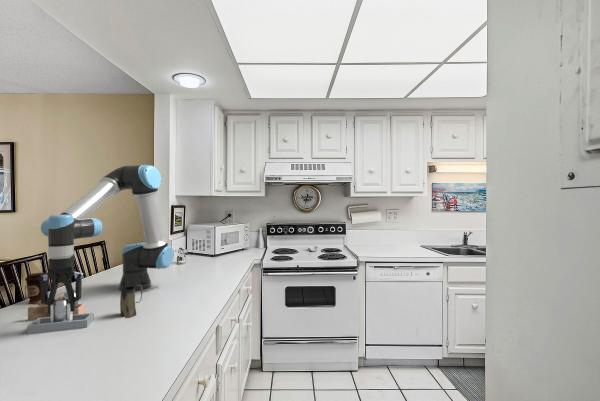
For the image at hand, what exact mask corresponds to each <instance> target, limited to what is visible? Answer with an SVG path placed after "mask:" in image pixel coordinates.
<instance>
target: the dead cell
mask: <svg viewBox="0 0 600 401" xmlns="http://www.w3.org/2000/svg"><path fill="white" fill-rule="evenodd" d="M73 291H74V294H75V289H73ZM63 296H65V297H68V294H67V291H66V292H64V293H63ZM78 304H79V300H78V301H76V302H75V309H77V308H78Z"/></svg>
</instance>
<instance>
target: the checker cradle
mask: <svg viewBox="0 0 600 401" xmlns="http://www.w3.org/2000/svg"><path fill="white" fill-rule="evenodd" d="M55 299H56V298H55ZM55 299H54V300H55ZM53 303H54V302H53ZM44 317H51V314H48V305H47V304H42V303H41V300H40V301H38V303H37V305H36V306H35V305H34V306H32V305H31V306H29V307H27V319H26V320H25V321H26V322H34V321H35V320H36V319H38V318H44Z"/></svg>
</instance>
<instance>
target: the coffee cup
mask: <svg viewBox="0 0 600 401" xmlns="http://www.w3.org/2000/svg"><path fill="white" fill-rule="evenodd" d="M47 273H48V272H36V273H29V274H27V276H26V278H25V279H24V280H25V281H26V285H25V287H26V291H27V297H28V299H29V300H28V304H30V305H31V304H33V305H34V304H38V301H40V300H41V286H40V281H39V279H38V277H40V276H42V275H46V274H47ZM49 279H50V278H49V277H48V280H47V283H49Z"/></svg>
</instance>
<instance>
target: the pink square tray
mask: <svg viewBox="0 0 600 401" xmlns="http://www.w3.org/2000/svg"><path fill="white" fill-rule="evenodd" d="M85 308H86V306H85V303H78V308H77V309H75V311H73V312H72V315H75V314H85V313H86V310H85Z"/></svg>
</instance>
